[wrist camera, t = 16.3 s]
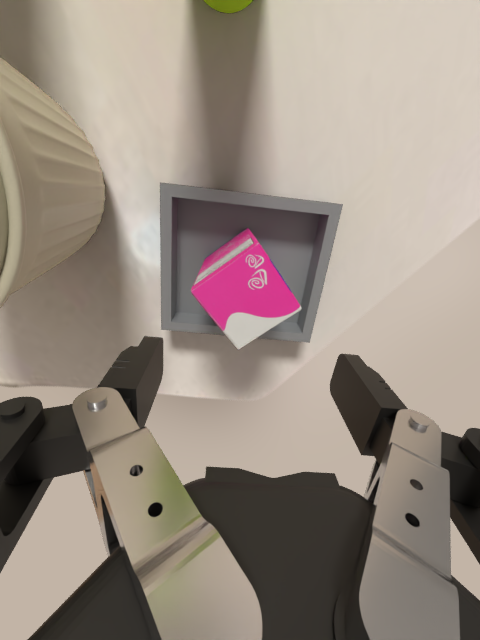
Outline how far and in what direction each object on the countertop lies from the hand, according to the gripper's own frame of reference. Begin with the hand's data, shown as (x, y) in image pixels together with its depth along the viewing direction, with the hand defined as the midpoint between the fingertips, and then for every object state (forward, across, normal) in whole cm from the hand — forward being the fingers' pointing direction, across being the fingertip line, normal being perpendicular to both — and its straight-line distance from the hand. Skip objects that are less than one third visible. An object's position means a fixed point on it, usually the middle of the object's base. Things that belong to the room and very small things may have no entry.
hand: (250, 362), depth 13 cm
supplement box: (+18, 0, 0) cm, 19 cm away
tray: (+19, 0, 0) cm, 19 cm away
